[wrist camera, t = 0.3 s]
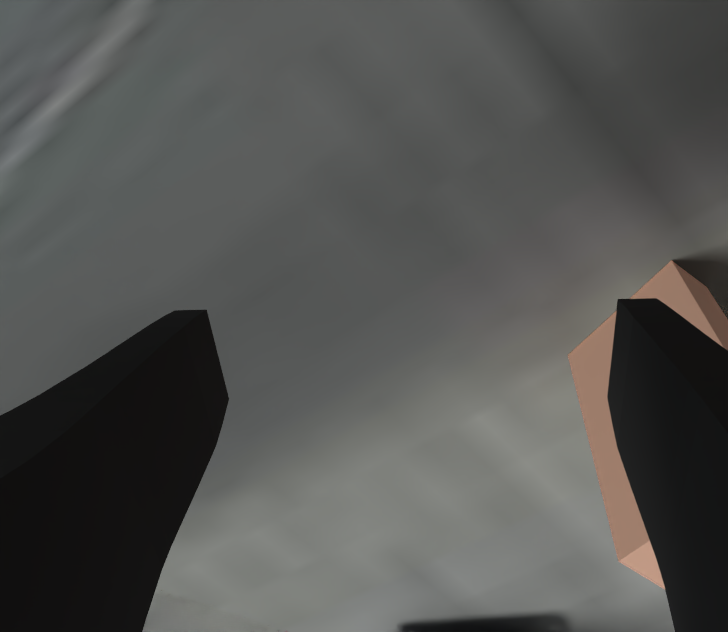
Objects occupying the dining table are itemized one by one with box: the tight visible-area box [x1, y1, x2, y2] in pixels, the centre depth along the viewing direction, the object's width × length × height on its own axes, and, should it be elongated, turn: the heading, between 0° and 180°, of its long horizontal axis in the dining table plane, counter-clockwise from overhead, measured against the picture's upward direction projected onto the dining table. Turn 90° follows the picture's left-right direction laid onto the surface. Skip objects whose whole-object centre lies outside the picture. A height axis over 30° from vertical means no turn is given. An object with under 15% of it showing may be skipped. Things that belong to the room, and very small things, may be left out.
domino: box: [568, 260, 728, 589], centre depth 20 cm, size 2×5×9 cm, turn 146°
